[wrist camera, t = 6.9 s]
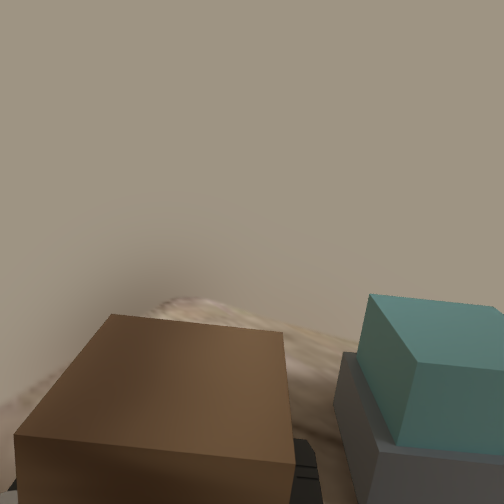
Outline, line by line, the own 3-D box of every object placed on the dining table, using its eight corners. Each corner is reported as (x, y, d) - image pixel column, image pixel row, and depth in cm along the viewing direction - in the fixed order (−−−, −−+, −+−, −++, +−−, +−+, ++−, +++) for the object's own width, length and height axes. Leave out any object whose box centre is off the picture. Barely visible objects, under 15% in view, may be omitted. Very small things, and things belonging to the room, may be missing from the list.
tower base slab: (460, 423, 26) (477, 366, 25) (542, 546, 18) (572, 472, 17) (332, 408, 26) (343, 351, 25) (361, 526, 18) (379, 451, 17)
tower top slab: (474, 369, 24) (492, 306, 23) (558, 460, 18) (590, 379, 17) (355, 357, 24) (369, 293, 23) (396, 445, 18) (417, 362, 16)
